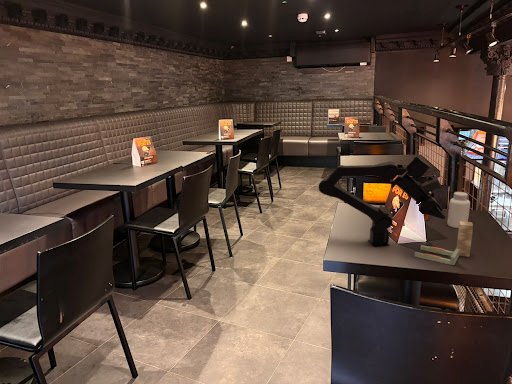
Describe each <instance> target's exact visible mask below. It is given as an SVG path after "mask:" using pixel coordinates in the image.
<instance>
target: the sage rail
mask: <svg viewBox="0 0 512 384" xmlns="http://www.w3.org/2000/svg"><path fill="white" fill-rule="evenodd" d="M419 250H421V251H425V252H430V253H431V254H430V253H422V252H418V251H414V255H413V257H414V258H415V257H416V258H420V259H425V260H429V261H431V262H432V261H433V262H437V263H441V264H444V265H445V264H446V265H450V266H455V265H456V262H457V261H458V259H459V258H460V256H459V252H460V249H456V248H455V250H454V251H453V250H447V249H445V248H441V247H437V246H436V247H435V246H427V245H424V244H423V245H422V244H421V245H420V249H419ZM432 253H435V254H439V255H434V254H432ZM440 255H445V256H448V257H450V259H449V258H445V257H441V256H440Z"/></svg>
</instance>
